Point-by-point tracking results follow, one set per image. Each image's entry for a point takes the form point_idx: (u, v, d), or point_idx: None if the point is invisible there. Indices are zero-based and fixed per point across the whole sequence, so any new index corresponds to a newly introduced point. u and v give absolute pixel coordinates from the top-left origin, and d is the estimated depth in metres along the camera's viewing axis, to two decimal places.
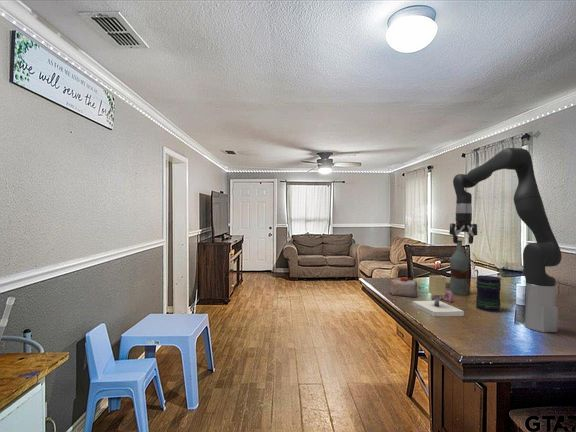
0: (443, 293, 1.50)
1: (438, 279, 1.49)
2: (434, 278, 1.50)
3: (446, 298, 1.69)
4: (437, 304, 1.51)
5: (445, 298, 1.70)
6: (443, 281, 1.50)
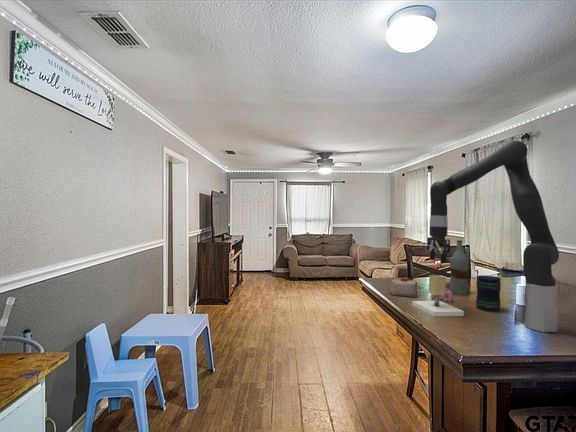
0: (443, 293, 1.50)
1: (438, 279, 1.49)
2: (434, 278, 1.50)
3: (446, 298, 1.69)
4: (437, 304, 1.51)
5: (445, 298, 1.69)
6: (443, 281, 1.50)
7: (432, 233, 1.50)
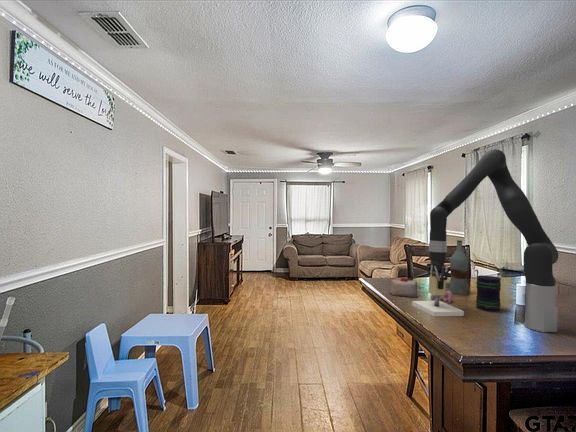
0: (443, 293, 1.50)
1: None
2: (434, 278, 1.50)
3: (445, 298, 1.69)
4: (437, 304, 1.51)
5: (444, 298, 1.69)
6: None
7: (431, 258, 1.50)
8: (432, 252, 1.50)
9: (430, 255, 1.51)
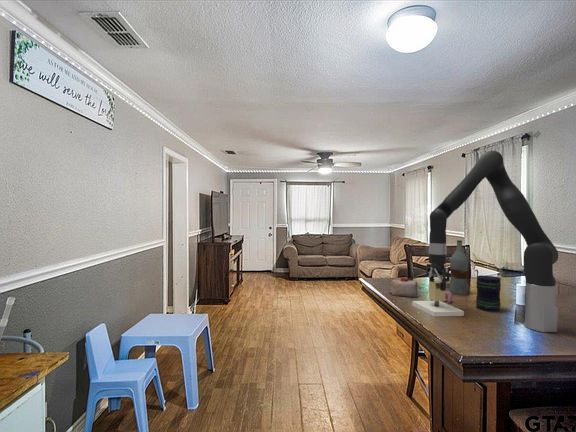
0: (443, 299, 1.50)
1: (438, 285, 1.49)
2: (434, 284, 1.50)
3: (445, 299, 1.68)
4: (437, 304, 1.51)
5: None
6: None
7: (431, 261, 1.50)
8: (432, 254, 1.50)
9: (430, 257, 1.51)
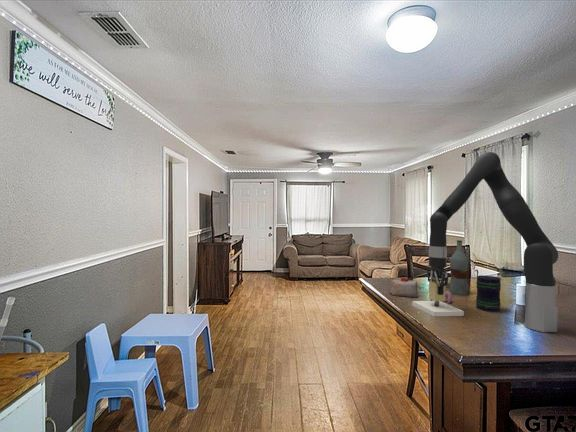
0: (443, 299, 1.50)
1: None
2: (434, 284, 1.50)
3: (445, 299, 1.68)
4: (437, 304, 1.51)
5: None
6: None
7: (431, 264, 1.50)
8: (432, 258, 1.50)
9: (430, 260, 1.51)
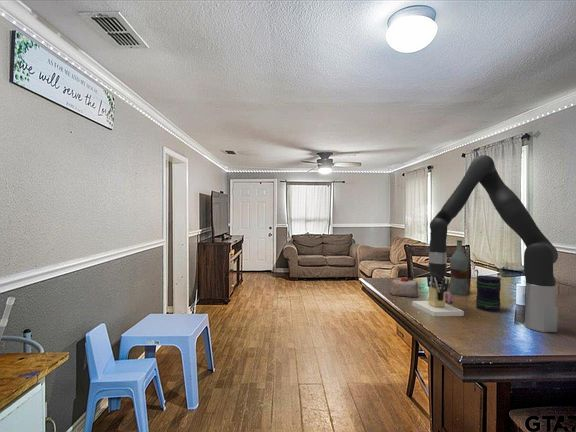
0: (443, 305, 1.50)
1: None
2: (434, 290, 1.50)
3: (445, 299, 1.68)
4: None
5: None
6: None
7: (431, 270, 1.50)
8: (432, 263, 1.50)
9: (430, 266, 1.51)
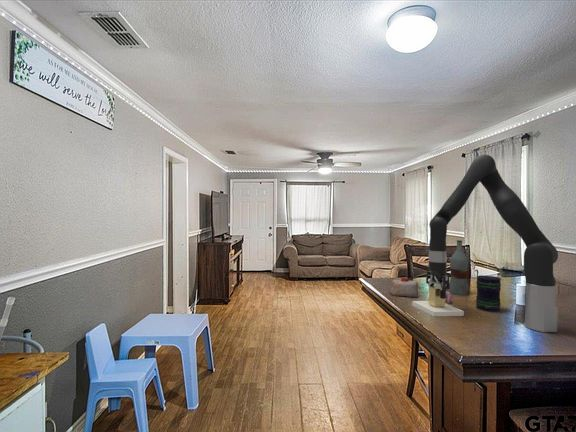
0: (443, 304, 1.50)
1: (438, 290, 1.49)
2: (434, 289, 1.50)
3: (445, 299, 1.67)
4: None
5: None
6: None
7: (431, 268, 1.50)
8: (432, 262, 1.50)
9: (430, 265, 1.51)
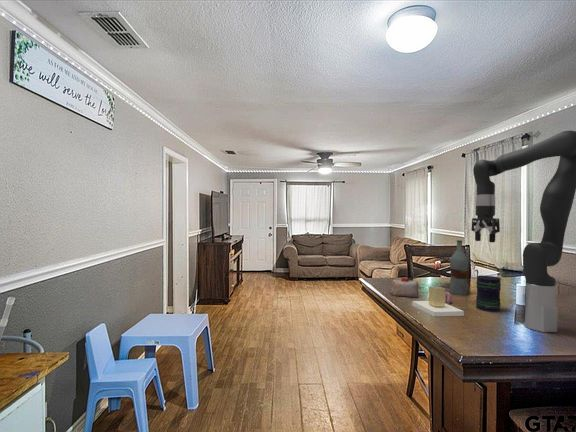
0: (443, 304, 1.50)
1: (438, 290, 1.49)
2: (434, 289, 1.50)
3: None
4: None
5: None
6: (443, 292, 1.50)
7: (479, 213, 1.46)
8: (480, 206, 1.46)
9: (478, 209, 1.47)
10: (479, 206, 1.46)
